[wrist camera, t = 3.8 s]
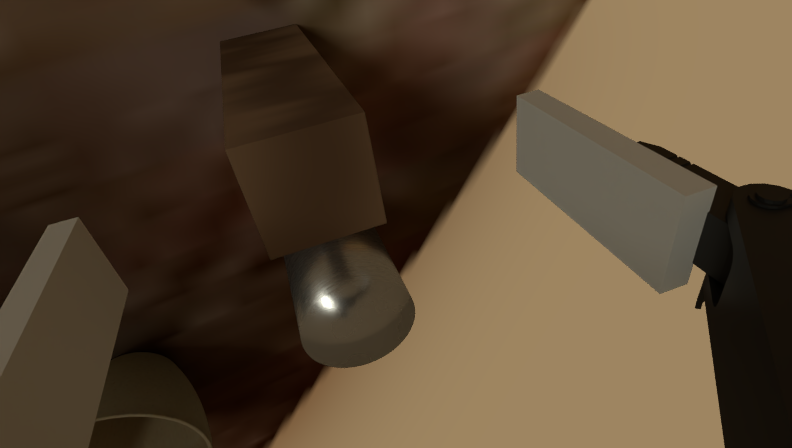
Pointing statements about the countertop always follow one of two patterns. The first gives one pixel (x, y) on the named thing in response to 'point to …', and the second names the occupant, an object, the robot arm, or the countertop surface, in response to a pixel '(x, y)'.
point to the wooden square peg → (296, 142)
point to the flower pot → (149, 406)
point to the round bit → (349, 300)
